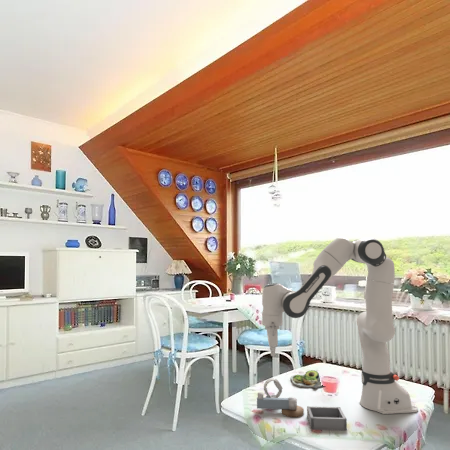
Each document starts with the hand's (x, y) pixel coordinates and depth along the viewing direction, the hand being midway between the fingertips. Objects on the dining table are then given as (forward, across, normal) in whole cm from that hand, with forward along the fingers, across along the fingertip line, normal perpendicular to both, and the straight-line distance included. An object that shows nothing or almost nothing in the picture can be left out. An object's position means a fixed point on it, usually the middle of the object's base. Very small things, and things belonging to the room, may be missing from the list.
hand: (272, 352), depth 167 cm
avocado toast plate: (+22, +31, -20) cm, 43 cm away
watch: (+22, 0, 0) cm, 22 cm away
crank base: (+22, -8, -8) cm, 25 cm away
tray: (+22, -16, -20) cm, 34 cm away
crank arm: (+20, -7, -2) cm, 22 cm away
